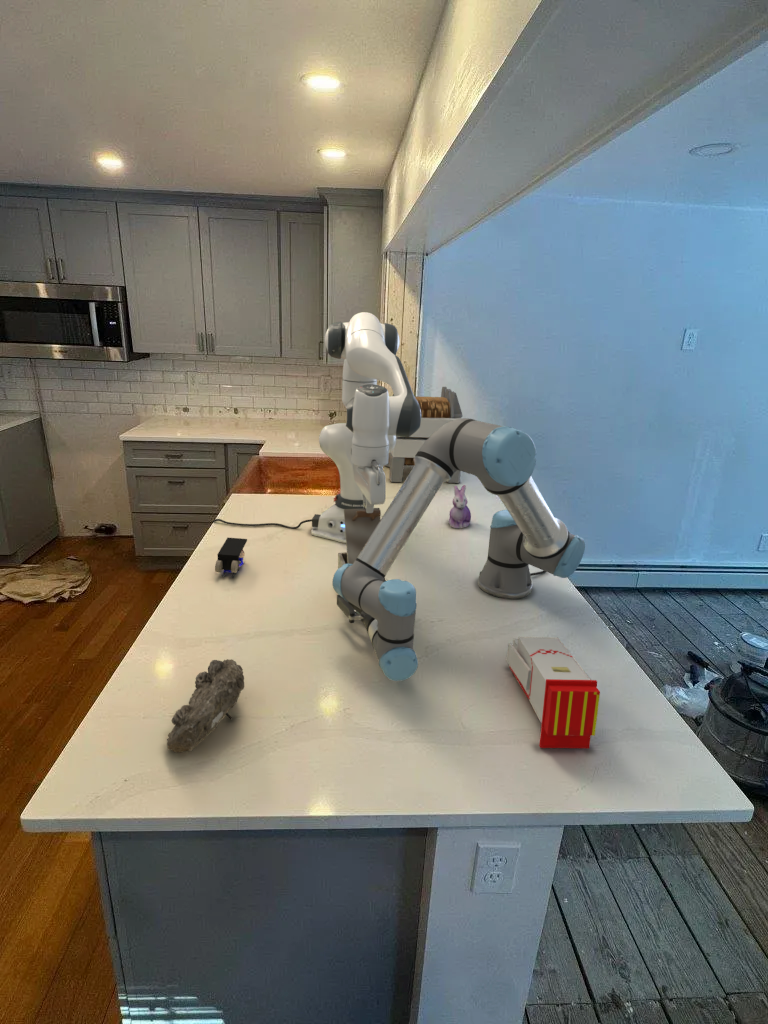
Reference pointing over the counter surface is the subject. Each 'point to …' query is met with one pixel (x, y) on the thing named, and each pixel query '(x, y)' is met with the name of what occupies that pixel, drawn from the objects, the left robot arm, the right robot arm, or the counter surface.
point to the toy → (555, 691)
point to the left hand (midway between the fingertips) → (368, 510)
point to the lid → (359, 530)
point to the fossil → (206, 705)
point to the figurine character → (230, 556)
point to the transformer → (424, 432)
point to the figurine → (459, 509)
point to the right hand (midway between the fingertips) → (363, 583)
